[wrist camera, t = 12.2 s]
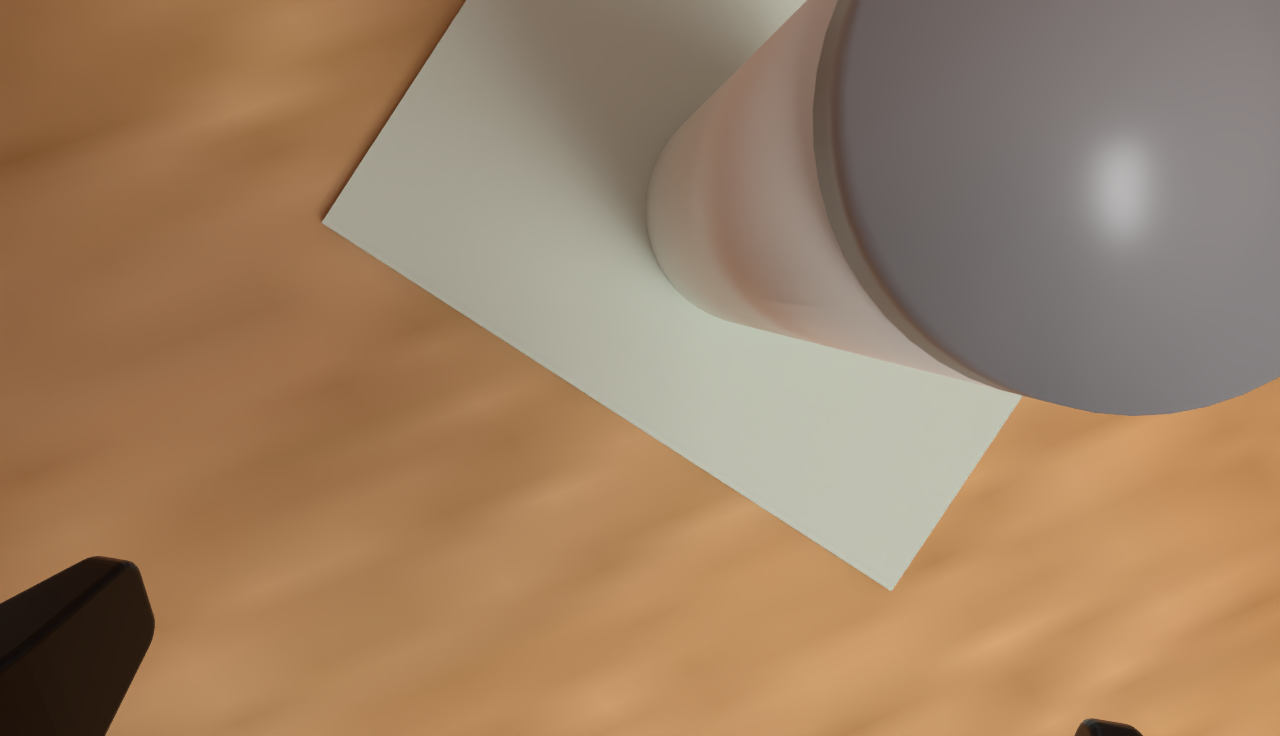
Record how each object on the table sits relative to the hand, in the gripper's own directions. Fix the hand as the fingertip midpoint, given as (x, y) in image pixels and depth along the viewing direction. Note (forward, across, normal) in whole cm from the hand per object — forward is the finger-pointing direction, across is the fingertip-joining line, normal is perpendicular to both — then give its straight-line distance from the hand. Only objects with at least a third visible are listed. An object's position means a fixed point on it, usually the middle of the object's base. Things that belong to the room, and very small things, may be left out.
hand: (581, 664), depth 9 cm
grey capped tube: (+14, -1, +1) cm, 14 cm away
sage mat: (+14, -1, +1) cm, 14 cm away
